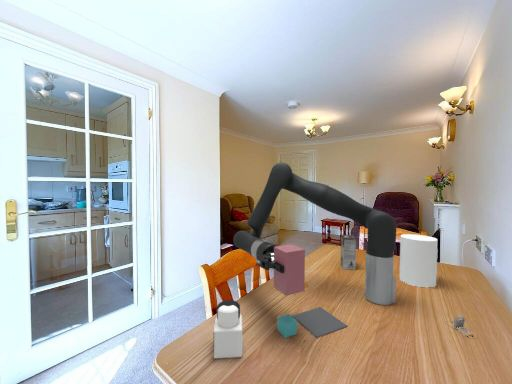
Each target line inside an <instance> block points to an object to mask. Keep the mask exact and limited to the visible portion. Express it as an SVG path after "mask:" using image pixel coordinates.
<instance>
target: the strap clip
mask: <svg viewBox="0 0 512 384" xmlns="http://www.w3.org/2000/svg"><path fill="white" fill-rule="evenodd" d="M465 320H466V319H465V317H464V316H462V315H456V316H455V318H454V321H453V322H454V327H455V328H457V327H458V328H459V327H463V328H461V329H457V331H458V330H460V331H462V332H463V333H465V334H466V333H467V331H468V330H469V329H468V328H465V327H464V326H465V322H466V321H465ZM455 328H454V329H455ZM469 331H471V330H469ZM471 332H472V333H474V332H473V331H471ZM466 335H467V334H466Z"/></svg>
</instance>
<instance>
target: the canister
mask: <svg viewBox="0 0 512 384" xmlns="http://www.w3.org/2000/svg"><path fill="white" fill-rule="evenodd" d="M399 246H400V247H399V280H400V281H401V282H402V281H403V282H402V283H404V282H405V283H404V284H406V283H407V284H406V285H410V286H412V287H415V286H417V287H416V288H420V287H426V288H425V289H429V288H428V287H434V286H436V287H437V273H438V272H437V270H438V269H437V268H438V238H436V237H434V236H433V237H432V236H429V235H423V234H415V233H414V234H413V233H412V234H411V233H408V234H407V233H403V234H401V235H400V245H399ZM434 288H435V287H434Z"/></svg>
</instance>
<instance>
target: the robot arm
mask: <svg viewBox="0 0 512 384" xmlns="http://www.w3.org/2000/svg"><path fill="white" fill-rule="evenodd" d="M265 184H266V185H265V187H264V189H263V191H262V193H261V196H260V198H259V199H258V201H257V203H256V205H255V207H254V209H253V210H252V212H251V214H250V215H249V218H248V219H247V222H246V225H247V226H248V227H250V229H251V230H252V233H250V232H247V231H245V230H240V231H237V232H236V233H235V234H234V236H233V239H232V240H233V244H234V246H235V247H236V248H238V249H240V250H242V251H244V252H246V253H247V254H249V256H251V257H254V259H255V260H256V266H258V267H260V268H261V269H263V270H265V271H270V269H271V270H272V271H274V270H276V271H278V272H280V273H284V265H282V264H280V263H279V262H276V260H274V247H277V246H278V245H277V244H275V243H272V242H270V241H268V240H266V239H262V238H261V237H262V233H263V229H264V227H265V225H266V223H267V222H268V220H269V217H270V216H271V213H272V211H273V208H274V206H275V204H276V203H275V202H276V200H277V198H278V196H279V194H280V192H281V191H282V189H283V190H286V191H289V192H291V193H294V194H295V195H297V196H299V197H301V198H303V199H304V200H306V201H308V202H310V203H312V204H314V205H316V207H319V208H321V209H323V210H324V211H327V212H329V213H331V214H335V215H337V216H340V217H344V218H347V219H349V220H352V221H354V222H355V223H356V224H359V225H361V226H362V227H364V228H365V229H367V241H366V242H367V243H366V245H365V288H364V294H365V295H364V296H365V298H366V300H367V301H369V302H371V303H373V304H377V305H382V306H389V305H392V304H396V289H397V288H396V286H397V285H396V282H397V281H396V280H397V279H396V276H394V265H395V263H394V261H395V250H396V245H397V244H396V243H397V224H396V220H395V218H394V217H393V216H391V215H390V214H389V213H387V212H385V211H382V210H378V209H375V208H373V207H370V206H367V205H366V204H365V205H364V203H363V204H362V203H361V202H359V201H357V200H355V199H354V198H352V197H350V196H349V195H347V194H345V193H343V192H342V191H340V190H338V189H336V188H334V187H332V186H329V185H327V184H325V183H320V182H317V181H311V180H307V179H305V178H303V177H301V176H299V175H297V174H296V173H294V172H293V170H292V167H291V166H290V165H289V164H288V163H287V162H278V163H276V164H274V165H273V166H272V168H271V170H270V172H269V176H268V179H267V181H266V183H265Z"/></svg>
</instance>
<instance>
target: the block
mask: <svg viewBox="0 0 512 384" xmlns="http://www.w3.org/2000/svg"><path fill="white" fill-rule="evenodd" d="M277 331H278V332H279V333H280V334H281V335H282V336H283V337H284V338H285V339H286V338H290V337H292V336H295V335H297V333H298V321H297V320H296V319H295V318H294V317H292V315H291V314H290V313H287V314H283V315H281V316H277Z"/></svg>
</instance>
